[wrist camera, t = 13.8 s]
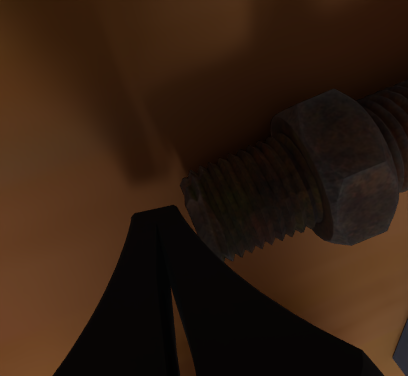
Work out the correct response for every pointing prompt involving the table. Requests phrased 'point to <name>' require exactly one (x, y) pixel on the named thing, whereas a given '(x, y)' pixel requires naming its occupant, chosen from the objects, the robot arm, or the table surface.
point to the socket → (402, 351)
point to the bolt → (308, 175)
